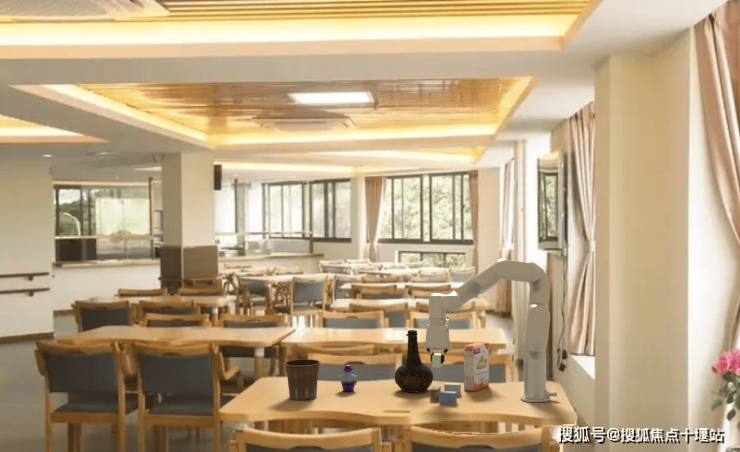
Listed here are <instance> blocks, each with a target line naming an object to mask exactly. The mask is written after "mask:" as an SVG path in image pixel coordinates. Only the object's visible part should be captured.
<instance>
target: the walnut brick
mask: <svg viewBox="0 0 740 452" xmlns="http://www.w3.org/2000/svg"><path fill="white" fill-rule="evenodd" d="M440 391H442V390H441V385H440V386H437V385H434V386H431V388H429V401H430V402H431V401H434V402H439V392H440Z"/></svg>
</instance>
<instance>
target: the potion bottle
mask: <svg viewBox="0 0 740 452" xmlns="http://www.w3.org/2000/svg"><path fill="white" fill-rule="evenodd" d="M343 372H344V374H341V375H339V379H340V380H339V381H340V384H341V386H342V392H344V393H352V392H354V391H355V386H356V385H357V383H358V380H357V377H358V375H356V374H353V373H352V372H353V367H352V365H351V364H344V367H343Z"/></svg>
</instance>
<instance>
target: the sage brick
mask: <svg viewBox="0 0 740 452" xmlns="http://www.w3.org/2000/svg"><path fill="white" fill-rule="evenodd" d="M443 364H444V363H443ZM443 364H441V352H440V353H439V352H435V353H434V355H433V356H432V361H431V367H432V368H433V369H434V368H436V369H437V368H438V369H440V368H442V366H443Z"/></svg>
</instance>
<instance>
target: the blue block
mask: <svg viewBox="0 0 740 452" xmlns="http://www.w3.org/2000/svg"><path fill="white" fill-rule="evenodd" d="M457 397H458V396H457V392H452V391H444V390H441V391H440V392H439V400H438V404H439V405H449V406H450V405H451V406H453V405H454V406H456V405H457V404H458V400H457V399H458V398H457Z"/></svg>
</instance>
